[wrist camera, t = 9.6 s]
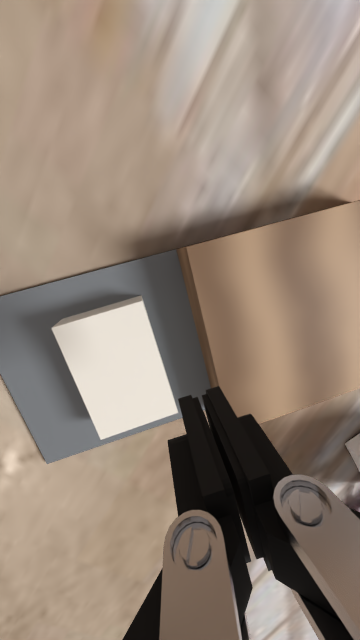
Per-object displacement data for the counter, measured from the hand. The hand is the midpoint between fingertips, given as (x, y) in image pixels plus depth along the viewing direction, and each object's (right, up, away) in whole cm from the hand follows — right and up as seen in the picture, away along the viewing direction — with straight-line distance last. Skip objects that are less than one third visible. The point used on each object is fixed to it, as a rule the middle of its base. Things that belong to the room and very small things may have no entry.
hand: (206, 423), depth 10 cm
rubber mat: (-7, +1, +10) cm, 12 cm away
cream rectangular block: (-5, 0, +8) cm, 9 cm away
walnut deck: (+8, +5, +12) cm, 15 cm away
